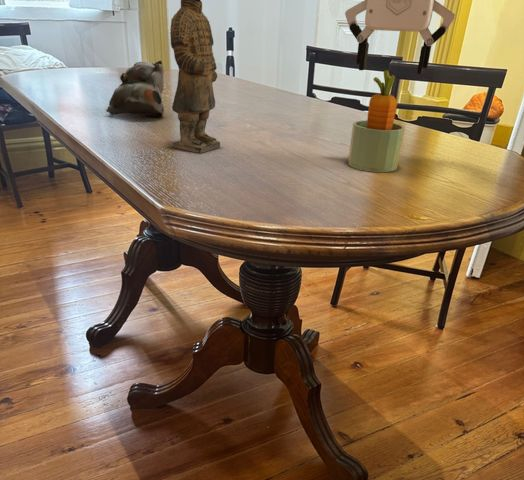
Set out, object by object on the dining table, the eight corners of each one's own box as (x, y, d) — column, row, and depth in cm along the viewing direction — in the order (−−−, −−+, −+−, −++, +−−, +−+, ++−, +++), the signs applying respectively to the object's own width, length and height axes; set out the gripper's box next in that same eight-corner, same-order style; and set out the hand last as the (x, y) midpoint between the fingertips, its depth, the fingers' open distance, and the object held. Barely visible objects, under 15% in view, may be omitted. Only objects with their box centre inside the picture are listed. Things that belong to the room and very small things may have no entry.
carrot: (382, 167, 92) (398, 73, 84) (356, 162, 94) (369, 70, 86) (390, 161, 96) (406, 71, 88) (365, 157, 98) (378, 68, 90)
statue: (196, 155, 95) (191, -48, 79) (164, 148, 99) (153, -49, 82) (228, 145, 103) (229, -42, 86) (197, 139, 106) (193, -43, 89)
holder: (399, 163, 98) (407, 123, 94) (393, 174, 91) (401, 132, 87) (353, 157, 100) (358, 118, 96) (343, 168, 93) (349, 126, 89)
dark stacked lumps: (97, 113, 123) (104, 53, 122) (141, 130, 132) (148, 74, 131) (128, 102, 113) (136, 37, 112) (174, 122, 121) (182, 61, 120)
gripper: (348, -60, 76) (335, 70, 86) (469, -61, 72) (442, 77, 81) (357, -55, 82) (344, 66, 92) (469, -55, 78) (444, 72, 87)
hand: (390, 71), depth 87 cm, fingers open, 9 cm apart
